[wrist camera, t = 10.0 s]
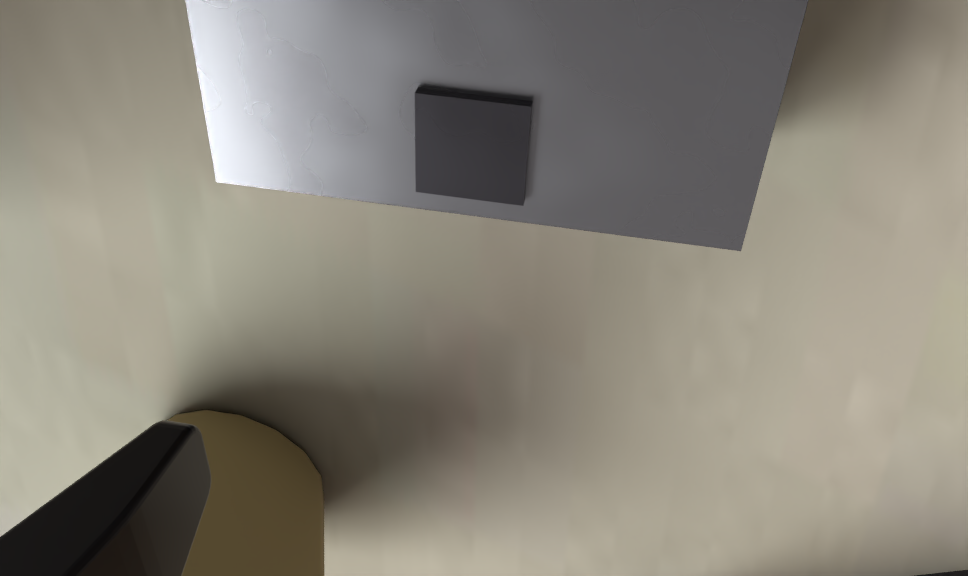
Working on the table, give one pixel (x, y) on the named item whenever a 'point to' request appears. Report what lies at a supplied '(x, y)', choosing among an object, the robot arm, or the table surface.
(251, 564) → the squeeze bottle
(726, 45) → the grey socket block
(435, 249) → the table surface
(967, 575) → the ammunition clip
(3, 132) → the table surface
